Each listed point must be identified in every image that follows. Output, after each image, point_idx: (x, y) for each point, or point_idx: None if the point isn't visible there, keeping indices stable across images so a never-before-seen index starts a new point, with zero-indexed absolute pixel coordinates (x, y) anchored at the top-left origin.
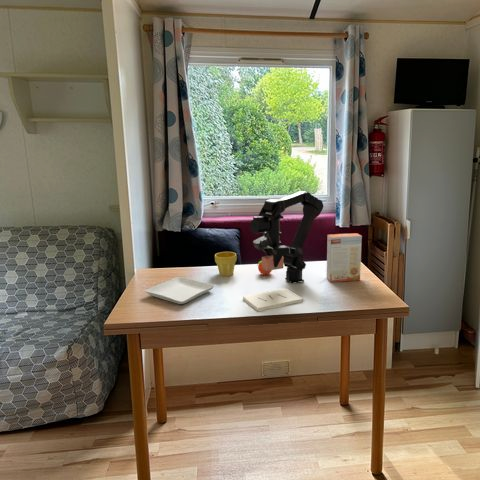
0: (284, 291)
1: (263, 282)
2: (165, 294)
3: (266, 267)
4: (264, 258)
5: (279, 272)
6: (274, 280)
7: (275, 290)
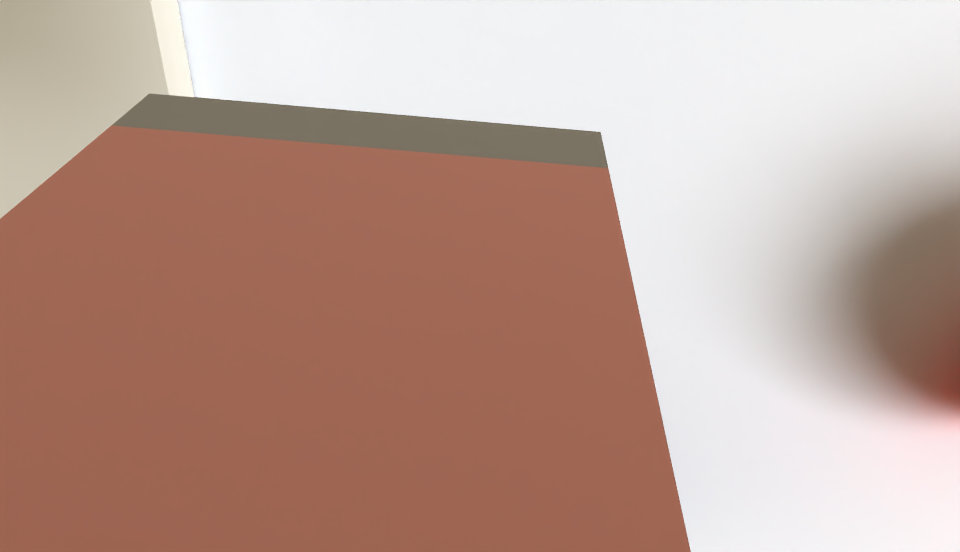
0: (43, 146)
1: (772, 132)
2: None
3: (110, 158)
4: (155, 543)
5: (914, 522)
6: (711, 324)
7: (136, 32)
